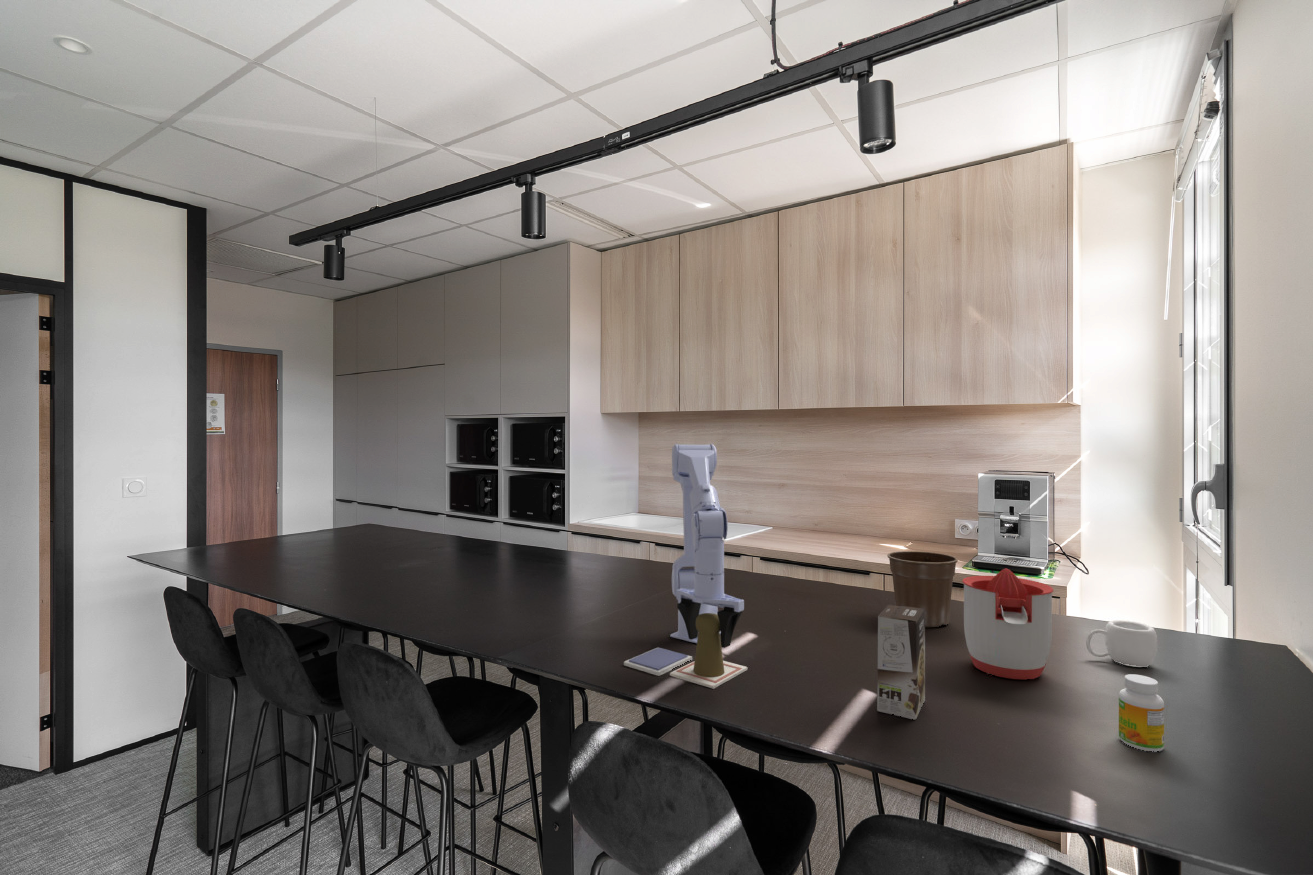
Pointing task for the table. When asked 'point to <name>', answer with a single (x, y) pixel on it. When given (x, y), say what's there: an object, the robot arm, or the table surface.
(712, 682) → the marked board
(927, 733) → the table surface
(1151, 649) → the mug
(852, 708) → the table surface
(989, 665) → the citrus juicer
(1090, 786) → the table surface
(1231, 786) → the table surface
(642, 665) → the ink pad
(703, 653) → the cork
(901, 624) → the coffee box
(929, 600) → the plant pot
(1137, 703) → the supplement bottle
